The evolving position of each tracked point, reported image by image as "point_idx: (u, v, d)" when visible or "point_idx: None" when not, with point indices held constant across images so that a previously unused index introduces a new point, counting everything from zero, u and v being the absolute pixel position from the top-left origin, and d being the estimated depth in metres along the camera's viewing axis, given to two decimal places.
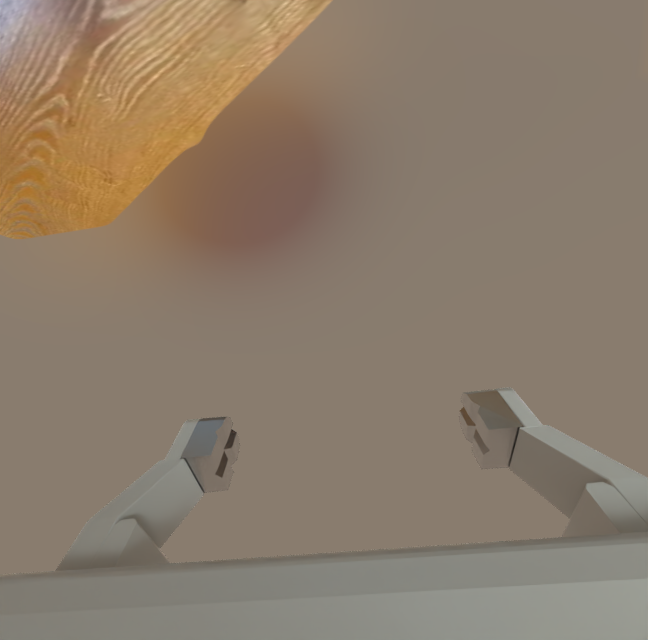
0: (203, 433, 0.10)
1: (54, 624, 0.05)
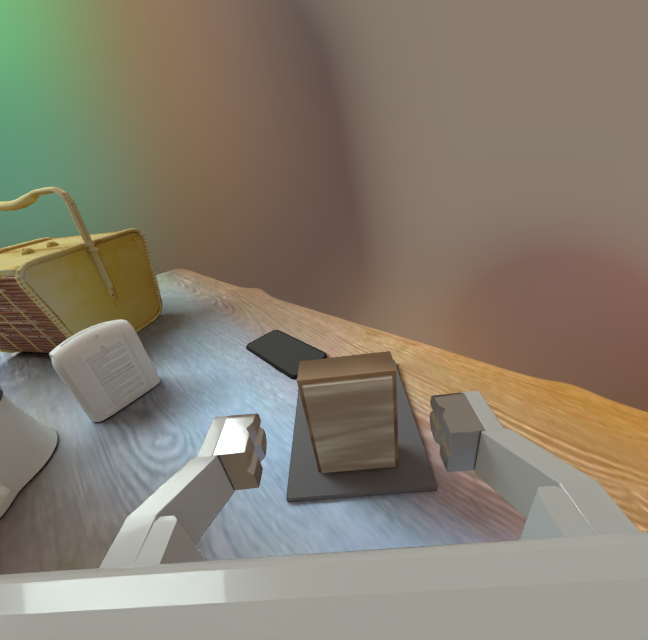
0: (234, 430, 0.09)
1: (54, 624, 0.05)
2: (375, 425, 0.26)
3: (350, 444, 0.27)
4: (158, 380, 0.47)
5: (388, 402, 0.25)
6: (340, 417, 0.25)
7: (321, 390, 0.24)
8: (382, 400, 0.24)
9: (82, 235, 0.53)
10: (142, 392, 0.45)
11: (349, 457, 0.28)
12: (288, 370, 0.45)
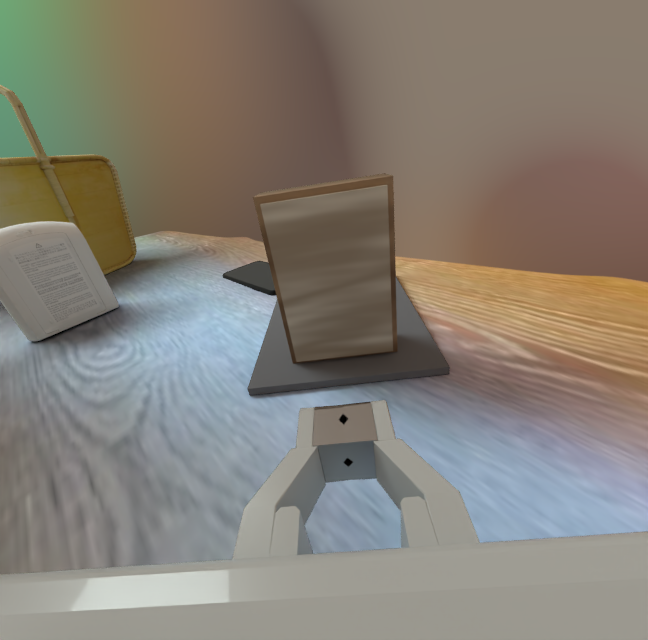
0: (326, 421, 0.09)
1: (54, 624, 0.05)
2: (364, 276, 0.19)
3: (331, 312, 0.20)
4: (116, 303, 0.40)
5: (382, 233, 0.18)
6: (316, 262, 0.18)
7: (286, 209, 0.17)
8: (374, 229, 0.17)
9: (34, 147, 0.46)
10: (94, 313, 0.38)
11: (332, 334, 0.21)
12: (267, 287, 0.38)
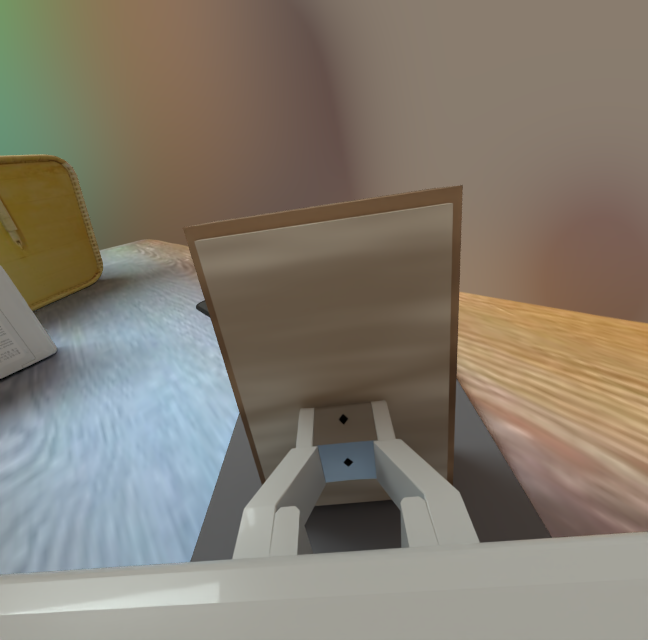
0: (326, 421, 0.09)
1: (54, 624, 0.05)
2: (399, 373, 0.10)
3: None
4: (50, 350, 0.31)
5: (437, 296, 0.09)
6: (308, 348, 0.10)
7: (248, 251, 0.08)
8: (421, 289, 0.09)
9: None
10: (17, 366, 0.28)
11: None
12: None
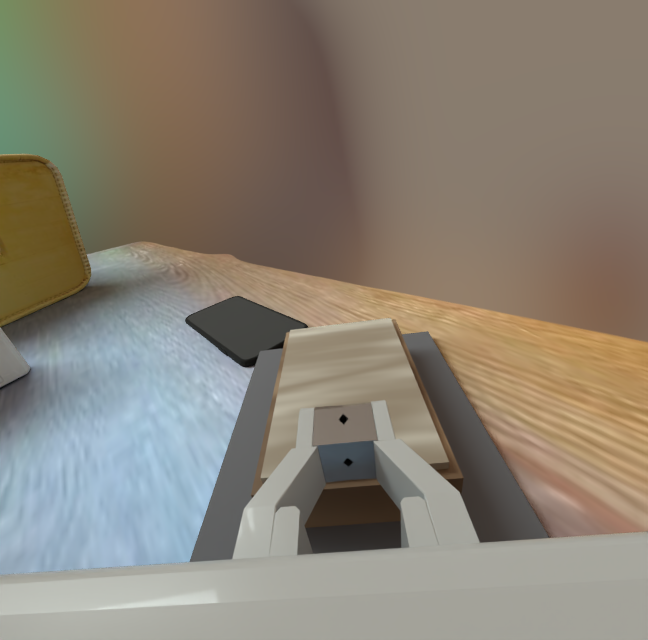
0: (326, 421, 0.09)
1: (54, 624, 0.05)
2: (379, 365, 0.16)
3: (337, 400, 0.15)
4: (21, 370, 0.28)
5: (392, 338, 0.19)
6: (327, 357, 0.18)
7: (309, 331, 0.21)
8: (383, 336, 0.19)
9: None
10: None
11: None
12: (238, 352, 0.25)
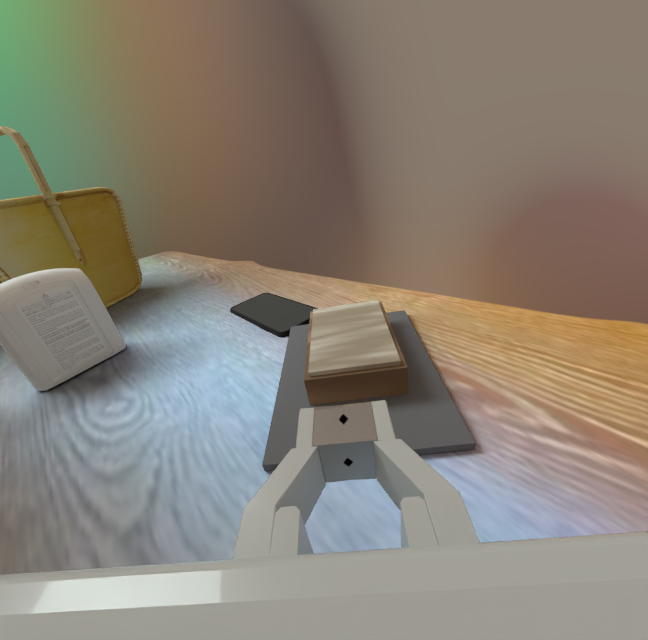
0: (326, 421, 0.09)
1: (54, 624, 0.05)
2: (369, 324, 0.28)
3: (345, 341, 0.26)
4: (123, 345, 0.40)
5: (377, 311, 0.30)
6: (338, 322, 0.29)
7: (326, 309, 0.32)
8: (372, 310, 0.30)
9: (39, 185, 0.46)
10: (102, 358, 0.37)
11: (344, 352, 0.25)
12: (275, 327, 0.37)
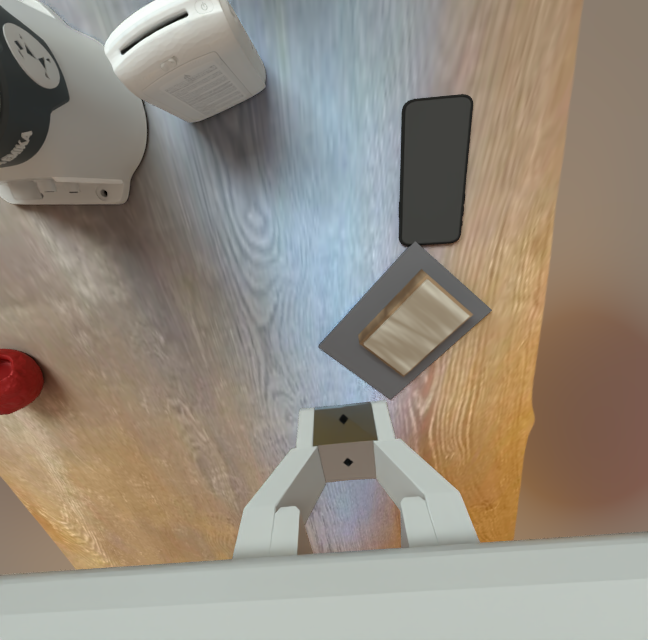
0: (326, 421, 0.09)
1: (54, 624, 0.05)
2: (429, 337, 0.37)
3: (402, 338, 0.38)
4: (263, 87, 0.30)
5: (451, 329, 0.37)
6: (420, 316, 0.36)
7: (433, 290, 0.35)
8: (450, 325, 0.36)
9: None
10: (240, 102, 0.31)
11: (391, 347, 0.38)
12: (404, 228, 0.35)
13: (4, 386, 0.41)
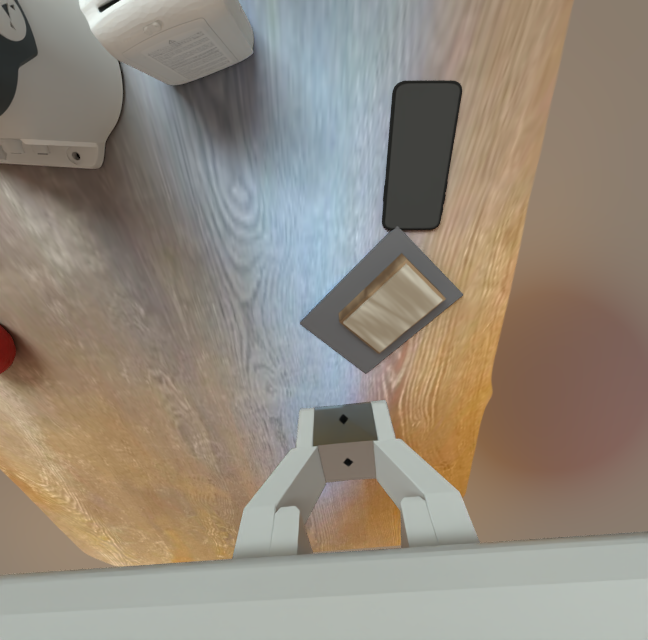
0: (326, 421, 0.09)
1: (54, 624, 0.05)
2: (404, 318, 0.40)
3: (379, 318, 0.40)
4: (250, 54, 0.29)
5: (425, 311, 0.39)
6: (397, 298, 0.38)
7: (411, 274, 0.37)
8: (424, 307, 0.39)
9: None
10: (225, 67, 0.29)
11: (369, 326, 0.40)
12: (388, 212, 0.36)
13: None
